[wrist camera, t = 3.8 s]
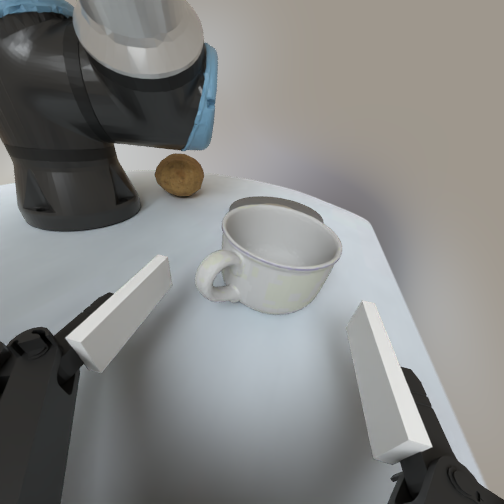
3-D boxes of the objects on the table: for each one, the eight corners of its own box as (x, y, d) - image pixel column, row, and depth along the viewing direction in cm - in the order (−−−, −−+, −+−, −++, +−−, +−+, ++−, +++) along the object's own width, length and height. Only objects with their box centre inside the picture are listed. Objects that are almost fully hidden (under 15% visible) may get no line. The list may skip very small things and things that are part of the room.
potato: (200, 184, 52) (199, 150, 47) (209, 204, 41) (208, 163, 36) (159, 184, 48) (154, 147, 44) (157, 206, 38) (149, 160, 33)
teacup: (275, 253, 28) (286, 199, 24) (338, 305, 21) (370, 242, 17) (176, 283, 21) (166, 215, 17) (220, 377, 14) (223, 301, 10)
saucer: (211, 207, 39) (211, 202, 39) (276, 196, 49) (277, 192, 49) (273, 252, 28) (274, 246, 28) (340, 226, 38) (342, 221, 38)
